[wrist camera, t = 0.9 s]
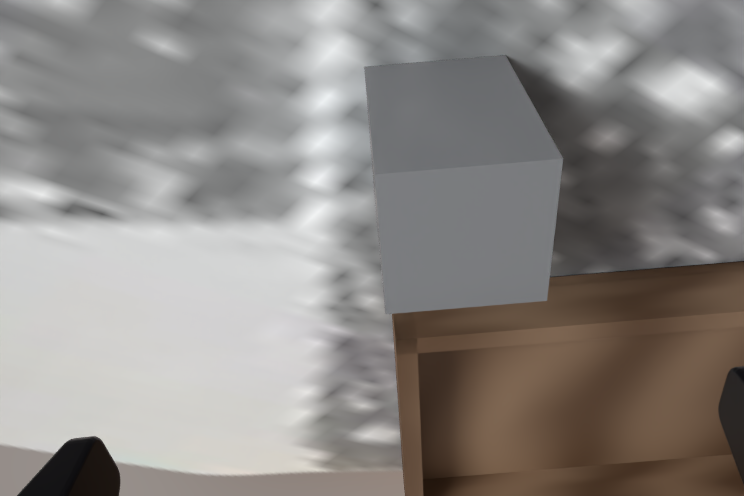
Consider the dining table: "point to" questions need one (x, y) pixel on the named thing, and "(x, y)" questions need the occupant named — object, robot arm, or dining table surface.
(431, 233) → the slate stone block
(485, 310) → the walnut tray
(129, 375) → the dining table surface
